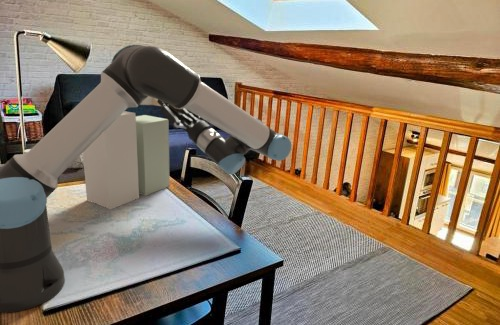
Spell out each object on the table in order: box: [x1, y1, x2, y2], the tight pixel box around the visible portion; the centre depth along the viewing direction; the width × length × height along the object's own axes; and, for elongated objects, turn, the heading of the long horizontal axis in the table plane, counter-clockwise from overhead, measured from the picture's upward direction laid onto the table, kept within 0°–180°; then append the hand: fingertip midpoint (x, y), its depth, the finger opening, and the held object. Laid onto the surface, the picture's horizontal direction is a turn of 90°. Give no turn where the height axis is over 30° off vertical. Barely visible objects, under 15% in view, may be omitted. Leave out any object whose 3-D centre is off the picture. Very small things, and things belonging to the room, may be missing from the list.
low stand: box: [136, 114, 171, 196], centre depth 133 cm, size 12×12×26 cm
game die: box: [69, 153, 84, 171], centre depth 152 cm, size 9×8×10 cm
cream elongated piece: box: [139, 96, 184, 109], centre depth 122 cm, size 20×8×6 cm, turn 58°
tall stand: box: [83, 110, 140, 210], centre depth 120 cm, size 12×12×30 cm
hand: (157, 93), depth 122 cm, fingers closed on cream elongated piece, 2 cm apart
